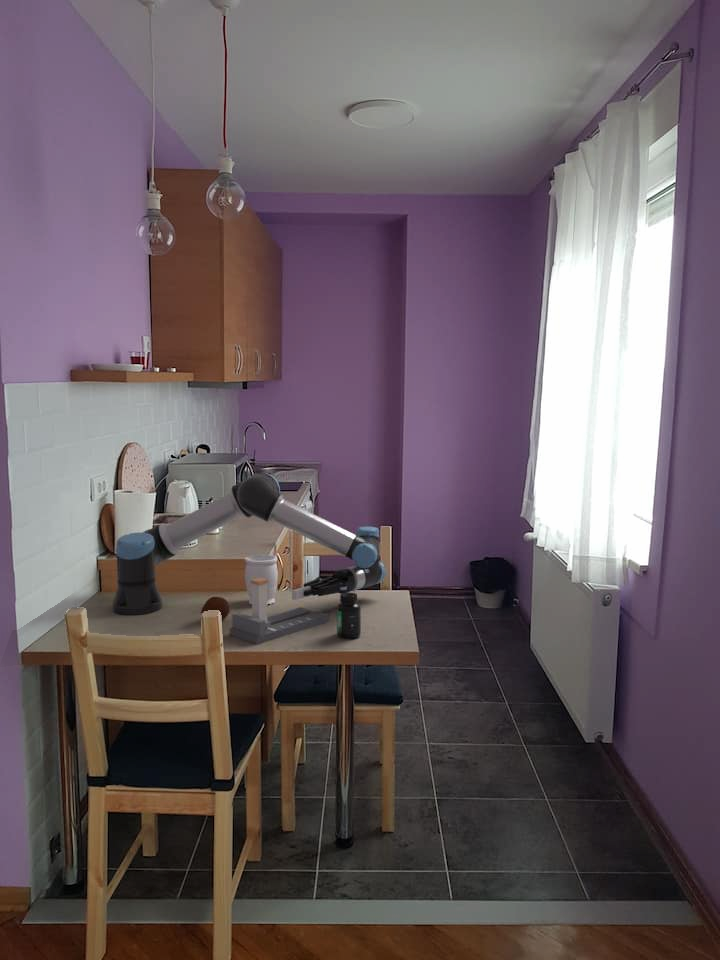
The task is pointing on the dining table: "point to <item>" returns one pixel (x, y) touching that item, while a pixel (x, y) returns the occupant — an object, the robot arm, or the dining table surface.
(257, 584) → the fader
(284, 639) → the dining table surface
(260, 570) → the jar
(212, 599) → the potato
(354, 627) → the supplement bottle
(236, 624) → the console
